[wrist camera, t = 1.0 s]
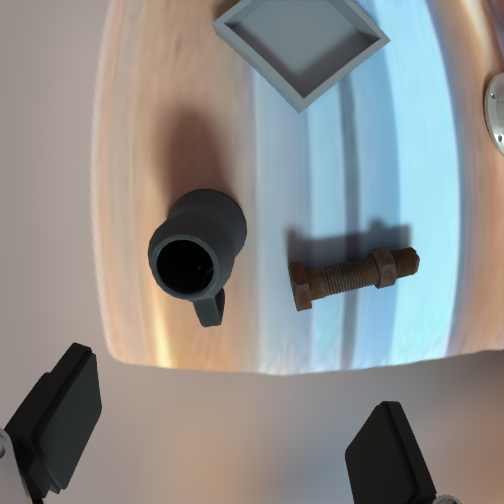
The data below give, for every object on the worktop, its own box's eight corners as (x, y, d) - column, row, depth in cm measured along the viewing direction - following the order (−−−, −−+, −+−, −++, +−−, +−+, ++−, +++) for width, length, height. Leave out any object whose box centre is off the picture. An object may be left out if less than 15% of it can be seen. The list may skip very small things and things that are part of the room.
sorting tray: (300, -27, 25) (304, -41, 22) (379, 48, 28) (390, 40, 24) (216, 34, 28) (211, 23, 25) (298, 113, 31) (303, 110, 28)
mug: (157, 198, 34) (116, 225, 24) (237, 180, 34) (227, 200, 23) (185, 294, 38) (161, 350, 28) (259, 282, 37) (259, 338, 27)
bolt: (402, 254, 38) (289, 280, 39) (409, 227, 34) (285, 254, 35) (420, 291, 34) (299, 322, 35) (430, 265, 30) (296, 298, 31)
